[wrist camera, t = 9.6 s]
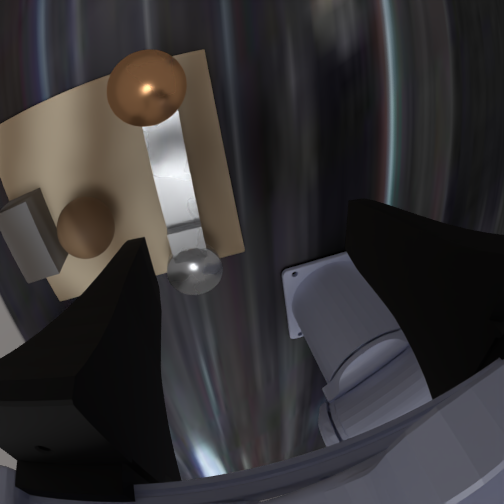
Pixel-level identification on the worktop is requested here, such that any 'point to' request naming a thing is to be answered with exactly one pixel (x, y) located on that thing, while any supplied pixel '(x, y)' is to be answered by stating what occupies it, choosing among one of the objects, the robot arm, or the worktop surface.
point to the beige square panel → (107, 179)
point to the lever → (166, 160)
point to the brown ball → (85, 227)
